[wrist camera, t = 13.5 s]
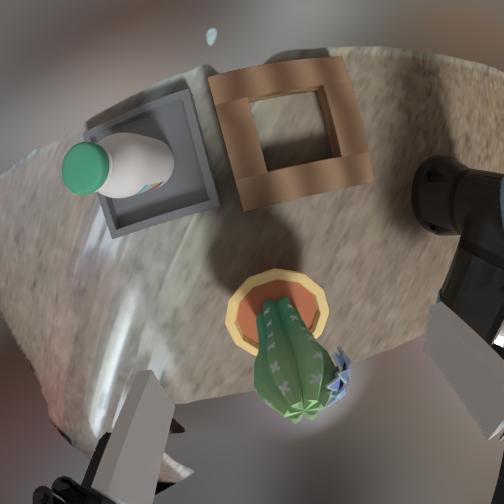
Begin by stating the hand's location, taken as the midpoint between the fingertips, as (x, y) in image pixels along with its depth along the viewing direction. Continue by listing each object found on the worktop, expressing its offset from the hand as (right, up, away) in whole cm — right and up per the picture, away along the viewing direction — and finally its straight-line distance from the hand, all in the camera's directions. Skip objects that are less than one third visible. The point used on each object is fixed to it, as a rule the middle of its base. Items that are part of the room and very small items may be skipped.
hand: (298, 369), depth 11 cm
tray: (-18, +19, +27) cm, 37 cm away
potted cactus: (+1, -2, +35) cm, 35 cm away
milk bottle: (-17, +18, +26) cm, 37 cm away
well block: (+4, +24, +27) cm, 36 cm away
